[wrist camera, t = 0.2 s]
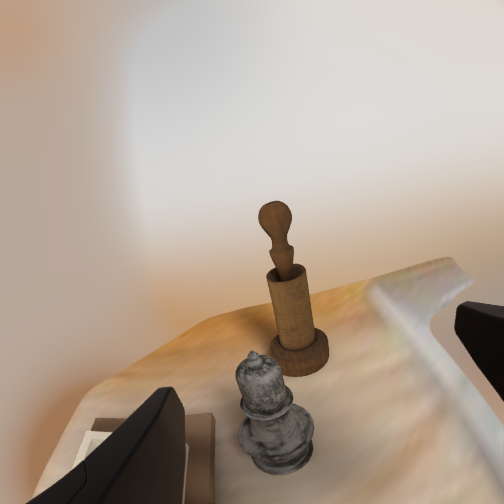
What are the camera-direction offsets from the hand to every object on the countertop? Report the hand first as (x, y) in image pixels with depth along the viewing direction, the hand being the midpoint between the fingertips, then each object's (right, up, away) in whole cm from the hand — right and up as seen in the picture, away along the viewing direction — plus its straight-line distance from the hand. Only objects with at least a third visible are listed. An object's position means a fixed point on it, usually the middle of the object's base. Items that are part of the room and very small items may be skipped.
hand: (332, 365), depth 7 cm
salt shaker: (0, -14, +13) cm, 19 cm away
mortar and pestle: (+3, -9, +24) cm, 26 cm away
